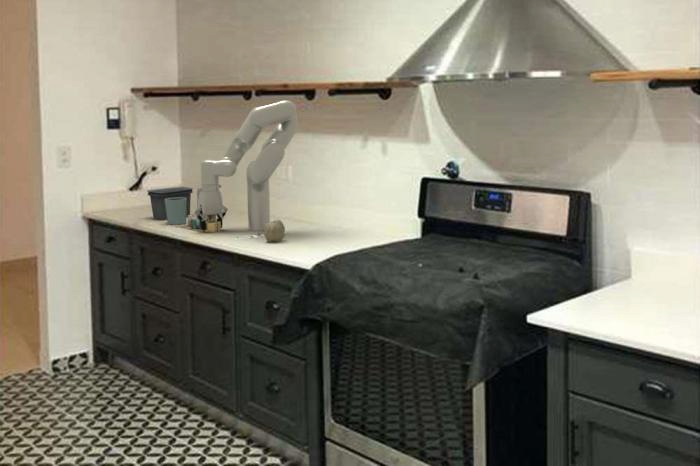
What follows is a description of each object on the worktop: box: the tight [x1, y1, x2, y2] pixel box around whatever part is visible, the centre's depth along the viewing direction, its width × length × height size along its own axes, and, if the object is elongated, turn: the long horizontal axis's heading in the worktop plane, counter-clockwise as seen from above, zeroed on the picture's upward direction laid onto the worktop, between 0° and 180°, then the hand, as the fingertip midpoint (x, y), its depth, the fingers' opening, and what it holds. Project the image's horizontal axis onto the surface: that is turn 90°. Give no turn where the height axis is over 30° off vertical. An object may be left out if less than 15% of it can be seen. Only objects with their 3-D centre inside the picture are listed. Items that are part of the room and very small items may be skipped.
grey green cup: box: [165, 197, 187, 226], centre depth 386 cm, size 10×10×12 cm
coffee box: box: [196, 187, 217, 221], centre depth 392 cm, size 9×6×16 cm
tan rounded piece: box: [261, 219, 286, 243], centre depth 336 cm, size 9×8×10 cm
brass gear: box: [203, 220, 222, 233], centre depth 355 cm, size 8×8×4 cm
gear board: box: [174, 214, 227, 234], centre depth 362 cm, size 26×11×6 cm, turn 41°
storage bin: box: [146, 186, 194, 221], centre depth 406 cm, size 21×16×14 cm
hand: (211, 228), depth 355 cm, fingers closed on brass gear, 7 cm apart
